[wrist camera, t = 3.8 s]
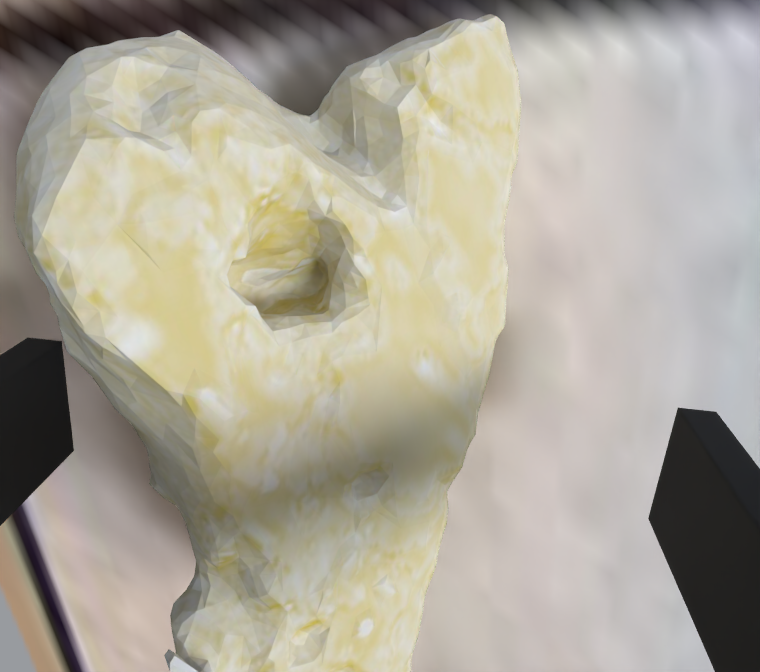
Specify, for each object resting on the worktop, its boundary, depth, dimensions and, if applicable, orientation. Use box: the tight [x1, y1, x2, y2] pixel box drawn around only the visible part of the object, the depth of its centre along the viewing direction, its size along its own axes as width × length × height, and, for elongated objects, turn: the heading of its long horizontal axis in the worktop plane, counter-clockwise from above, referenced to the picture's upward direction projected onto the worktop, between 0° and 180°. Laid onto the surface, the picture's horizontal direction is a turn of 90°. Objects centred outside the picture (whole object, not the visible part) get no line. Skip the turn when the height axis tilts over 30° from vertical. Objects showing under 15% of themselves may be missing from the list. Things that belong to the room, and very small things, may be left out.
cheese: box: [14, 14, 521, 672], centre depth 17 cm, size 15×7×15 cm
